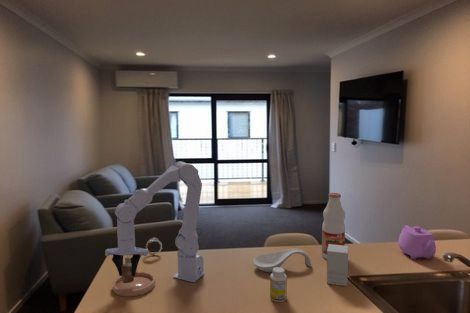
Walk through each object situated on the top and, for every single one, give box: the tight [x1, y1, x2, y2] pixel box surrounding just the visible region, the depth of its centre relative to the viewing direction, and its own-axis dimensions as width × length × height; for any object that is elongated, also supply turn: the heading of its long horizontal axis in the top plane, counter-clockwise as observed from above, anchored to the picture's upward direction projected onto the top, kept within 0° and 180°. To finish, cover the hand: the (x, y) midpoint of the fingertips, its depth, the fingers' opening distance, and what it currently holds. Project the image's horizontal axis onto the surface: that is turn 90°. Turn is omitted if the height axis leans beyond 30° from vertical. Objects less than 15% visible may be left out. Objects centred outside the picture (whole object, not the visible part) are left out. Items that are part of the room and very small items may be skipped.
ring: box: [145, 237, 163, 257], centre depth 150 cm, size 7×3×8 cm, turn 95°
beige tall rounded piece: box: [124, 255, 133, 264], centre depth 136 cm, size 4×4×6 cm
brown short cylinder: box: [121, 263, 134, 283], centre depth 120 cm, size 4×4×6 cm
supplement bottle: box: [269, 266, 288, 303], centre depth 114 cm, size 6×6×10 cm
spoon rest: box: [252, 247, 312, 273], centre depth 138 cm, size 24×12×7 cm, turn 102°
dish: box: [112, 271, 156, 298], centre depth 123 cm, size 15×15×2 cm
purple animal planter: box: [398, 225, 437, 260], centre depth 148 cm, size 20×12×13 cm, turn 5°
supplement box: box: [326, 244, 349, 287], centre depth 126 cm, size 7×7×13 cm
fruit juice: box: [321, 192, 346, 260], centre depth 146 cm, size 9×9×28 cm
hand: (127, 274), depth 120 cm, fingers closed on brown short cylinder, 4 cm apart
